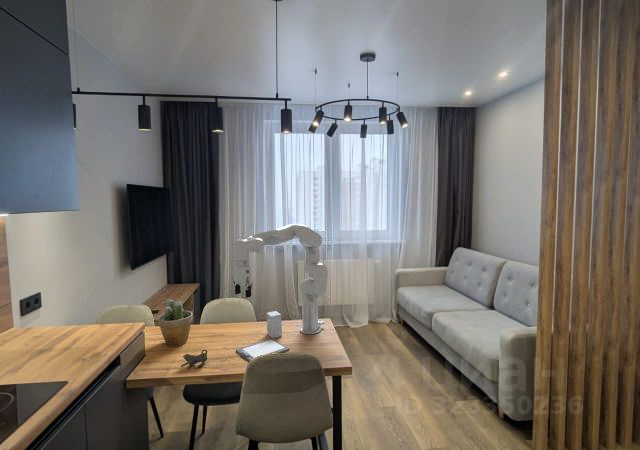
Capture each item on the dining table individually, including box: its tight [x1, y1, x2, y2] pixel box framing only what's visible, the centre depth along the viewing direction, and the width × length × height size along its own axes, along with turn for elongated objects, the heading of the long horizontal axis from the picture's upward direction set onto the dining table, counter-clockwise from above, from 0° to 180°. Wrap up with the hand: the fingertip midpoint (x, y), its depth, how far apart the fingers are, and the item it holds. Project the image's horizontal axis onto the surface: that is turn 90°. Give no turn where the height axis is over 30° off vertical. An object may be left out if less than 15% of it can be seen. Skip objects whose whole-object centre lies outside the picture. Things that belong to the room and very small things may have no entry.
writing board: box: [235, 337, 290, 362], centre depth 180 cm, size 22×18×2 cm
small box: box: [266, 310, 283, 339], centre depth 200 cm, size 8×6×13 cm
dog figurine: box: [180, 349, 208, 369], centre depth 165 cm, size 12×6×7 cm, turn 103°
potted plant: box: [157, 299, 193, 347], centre depth 192 cm, size 18×19×25 cm
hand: (243, 295), depth 177 cm, fingers open, 9 cm apart
